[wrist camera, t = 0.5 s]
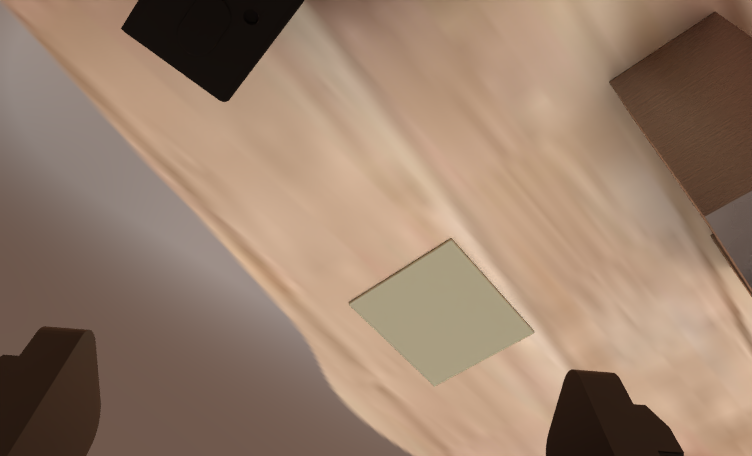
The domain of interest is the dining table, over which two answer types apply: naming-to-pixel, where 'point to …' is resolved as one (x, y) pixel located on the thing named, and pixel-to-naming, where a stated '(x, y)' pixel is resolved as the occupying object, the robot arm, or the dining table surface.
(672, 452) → the robot arm
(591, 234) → the dining table surface
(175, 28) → the digital camera
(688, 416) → the dining table surface
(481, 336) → the pad
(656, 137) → the housing
